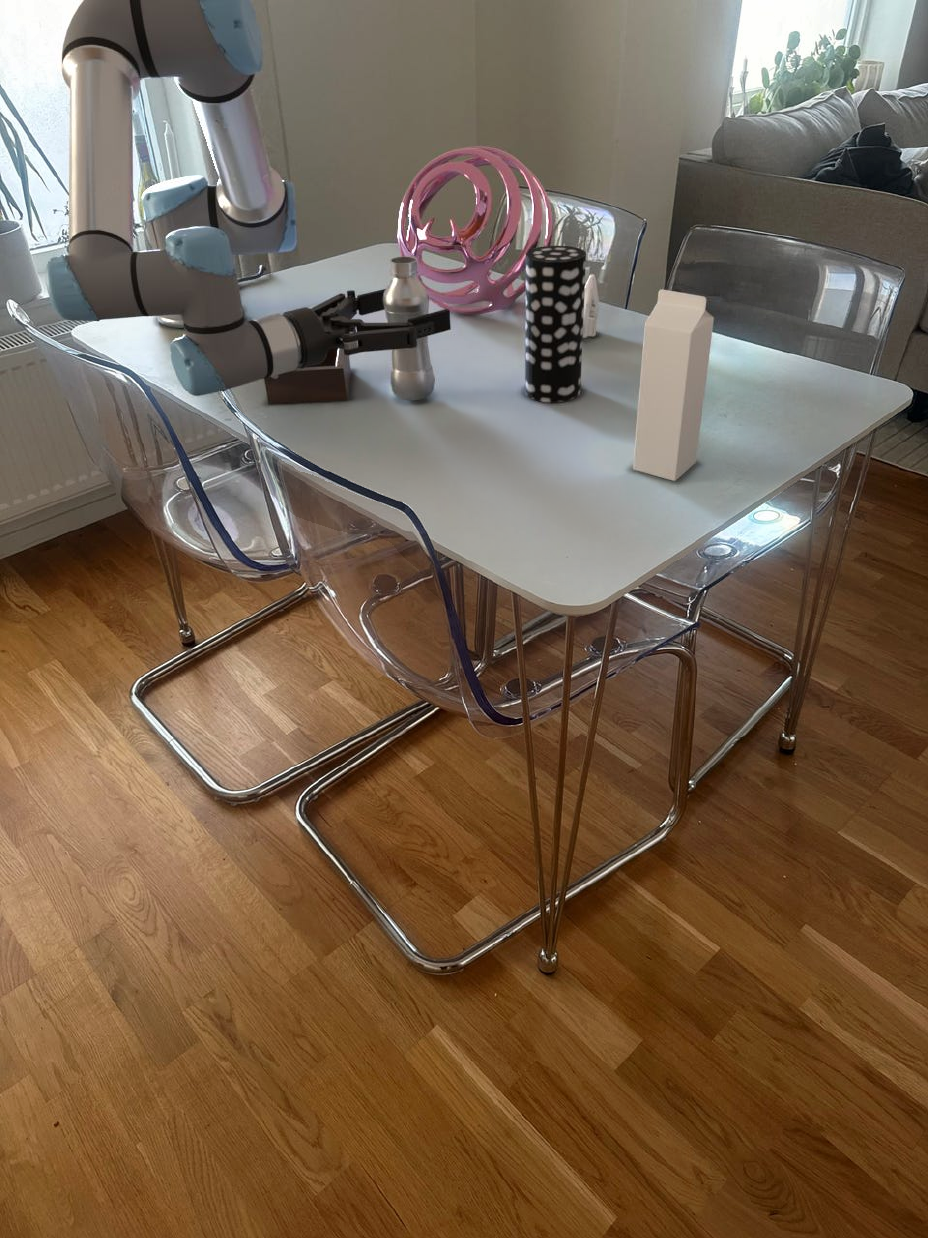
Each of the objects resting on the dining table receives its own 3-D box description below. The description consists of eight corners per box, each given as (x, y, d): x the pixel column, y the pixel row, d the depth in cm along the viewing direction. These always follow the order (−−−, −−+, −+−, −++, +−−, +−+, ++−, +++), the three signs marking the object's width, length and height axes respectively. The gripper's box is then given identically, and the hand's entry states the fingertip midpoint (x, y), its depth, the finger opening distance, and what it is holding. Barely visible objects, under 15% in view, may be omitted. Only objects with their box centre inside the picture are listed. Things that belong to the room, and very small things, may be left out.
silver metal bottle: (430, 406, 136) (421, 267, 124) (386, 404, 137) (373, 265, 125) (440, 389, 141) (432, 253, 129) (397, 387, 142) (386, 252, 130)
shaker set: (556, 353, 151) (558, 284, 145) (538, 347, 154) (539, 279, 147) (604, 334, 158) (608, 267, 151) (585, 328, 160) (588, 263, 153)
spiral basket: (478, 165, 179) (417, 92, 154) (599, 217, 170) (555, 149, 145) (412, 299, 185) (344, 249, 160) (526, 356, 176) (472, 314, 151)
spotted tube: (585, 383, 141) (592, 247, 129) (573, 405, 134) (578, 263, 122) (533, 378, 143) (534, 244, 131) (518, 399, 137) (518, 260, 125)
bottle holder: (276, 374, 148) (271, 344, 145) (350, 370, 148) (347, 340, 145) (268, 404, 138) (262, 372, 136) (347, 400, 139) (343, 368, 136)
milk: (654, 452, 121) (670, 281, 108) (696, 463, 118) (718, 289, 105) (632, 470, 117) (646, 295, 104) (675, 482, 114) (695, 303, 101)
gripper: (254, 343, 134) (379, 311, 143) (338, 396, 117) (473, 356, 126) (245, 291, 129) (375, 261, 139) (330, 338, 112) (471, 301, 122)
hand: (422, 307), depth 132 cm, fingers open, 13 cm apart
